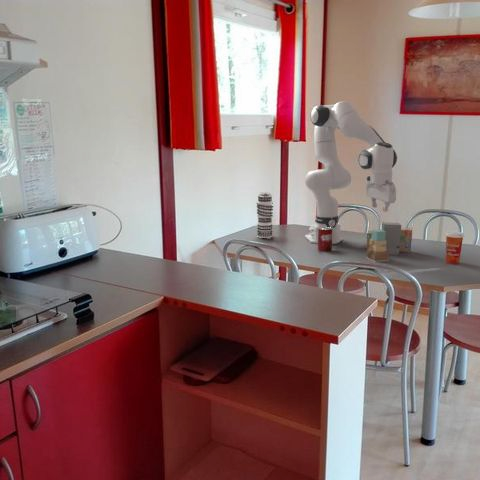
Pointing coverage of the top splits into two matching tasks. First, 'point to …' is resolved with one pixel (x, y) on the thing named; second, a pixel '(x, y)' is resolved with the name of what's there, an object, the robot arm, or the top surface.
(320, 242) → the soda can
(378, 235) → the teal cube
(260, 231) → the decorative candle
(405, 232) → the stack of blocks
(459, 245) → the paper cup
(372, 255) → the walnut block
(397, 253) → the skincare box
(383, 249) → the oak cube
